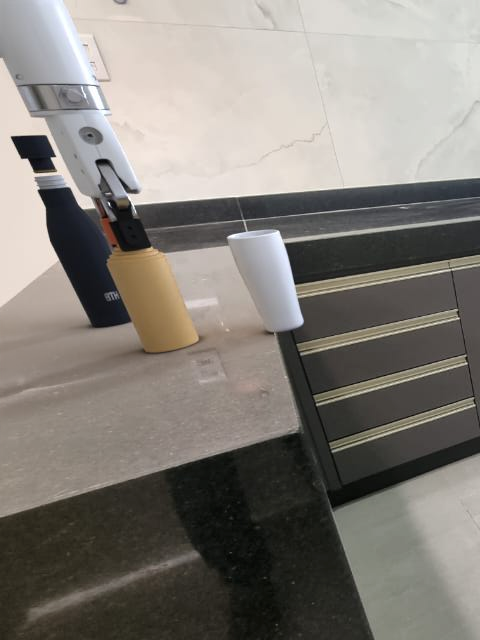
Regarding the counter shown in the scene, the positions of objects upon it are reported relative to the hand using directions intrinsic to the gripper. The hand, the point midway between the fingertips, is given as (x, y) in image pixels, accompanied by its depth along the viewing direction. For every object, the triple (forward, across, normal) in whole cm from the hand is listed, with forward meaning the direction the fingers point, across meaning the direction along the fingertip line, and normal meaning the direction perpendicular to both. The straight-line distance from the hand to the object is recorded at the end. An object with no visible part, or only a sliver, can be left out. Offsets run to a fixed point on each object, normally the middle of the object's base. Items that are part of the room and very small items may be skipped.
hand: (132, 246), depth 74 cm
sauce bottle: (+15, 0, 0) cm, 15 cm away
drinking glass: (+15, -8, -12) cm, 21 cm away
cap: (-1, 0, 0) cm, 1 cm away
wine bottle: (+15, +25, +2) cm, 29 cm away
